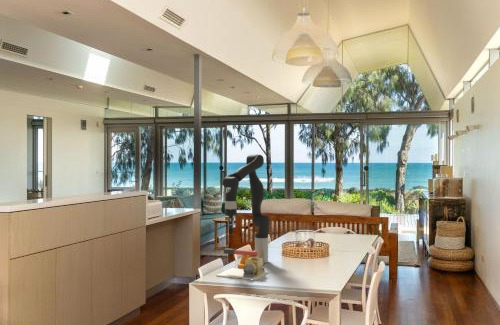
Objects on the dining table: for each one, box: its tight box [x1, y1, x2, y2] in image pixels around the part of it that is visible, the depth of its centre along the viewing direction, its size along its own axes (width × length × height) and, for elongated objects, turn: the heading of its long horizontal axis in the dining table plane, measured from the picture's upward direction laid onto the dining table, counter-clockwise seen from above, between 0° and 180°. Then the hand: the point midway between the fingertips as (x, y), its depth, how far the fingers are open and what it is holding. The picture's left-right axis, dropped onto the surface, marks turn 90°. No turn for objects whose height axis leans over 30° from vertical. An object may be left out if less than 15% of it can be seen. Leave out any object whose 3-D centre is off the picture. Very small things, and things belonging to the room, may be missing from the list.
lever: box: [223, 248, 258, 256], centre depth 314 cm, size 22×4×3 cm, turn 68°
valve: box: [243, 256, 265, 278], centre depth 310 cm, size 22×8×11 cm, turn 158°
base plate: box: [216, 267, 270, 281], centre depth 312 cm, size 22×26×1 cm
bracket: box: [237, 248, 252, 269], centre depth 331 cm, size 11×7×12 cm
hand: (230, 233), depth 323 cm, fingers open, 8 cm apart
